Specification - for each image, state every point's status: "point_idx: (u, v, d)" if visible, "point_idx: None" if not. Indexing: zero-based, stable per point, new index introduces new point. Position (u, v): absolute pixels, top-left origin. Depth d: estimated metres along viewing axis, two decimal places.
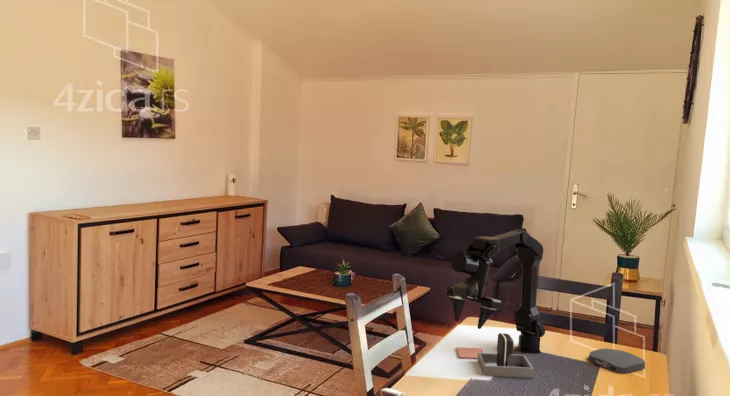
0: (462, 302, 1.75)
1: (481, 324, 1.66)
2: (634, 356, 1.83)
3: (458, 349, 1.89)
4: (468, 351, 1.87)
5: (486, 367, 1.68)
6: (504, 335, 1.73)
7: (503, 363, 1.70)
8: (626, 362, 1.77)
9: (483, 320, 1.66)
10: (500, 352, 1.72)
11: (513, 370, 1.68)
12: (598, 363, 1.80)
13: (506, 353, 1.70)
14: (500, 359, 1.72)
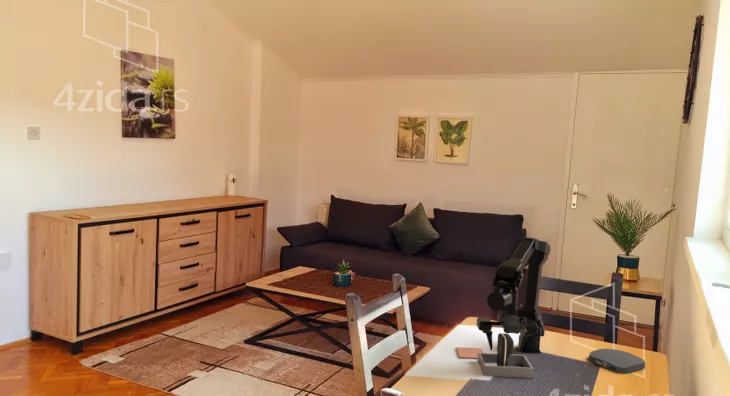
0: None
1: None
2: (634, 356, 1.83)
3: (458, 349, 1.89)
4: (468, 351, 1.87)
5: (486, 367, 1.68)
6: (504, 335, 1.73)
7: (503, 363, 1.70)
8: (626, 362, 1.77)
9: None
10: (500, 352, 1.72)
11: (513, 370, 1.68)
12: (598, 363, 1.80)
13: (506, 353, 1.70)
14: (500, 359, 1.72)
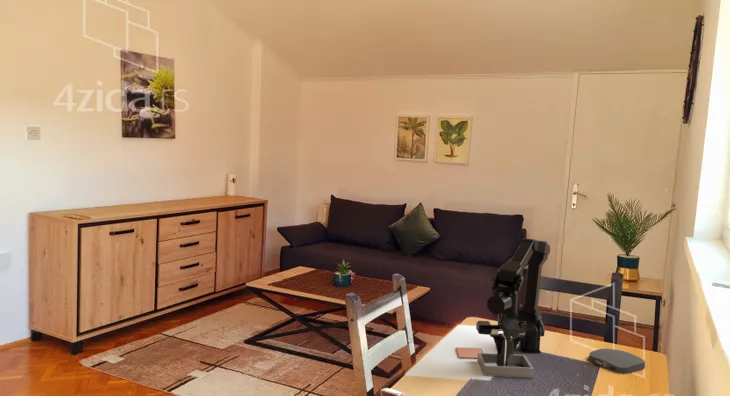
0: None
1: None
2: (634, 356, 1.83)
3: (458, 349, 1.89)
4: (468, 351, 1.87)
5: (486, 367, 1.68)
6: None
7: (503, 363, 1.70)
8: (626, 362, 1.77)
9: None
10: (500, 352, 1.72)
11: (513, 370, 1.68)
12: (598, 363, 1.80)
13: (506, 353, 1.70)
14: (500, 359, 1.72)
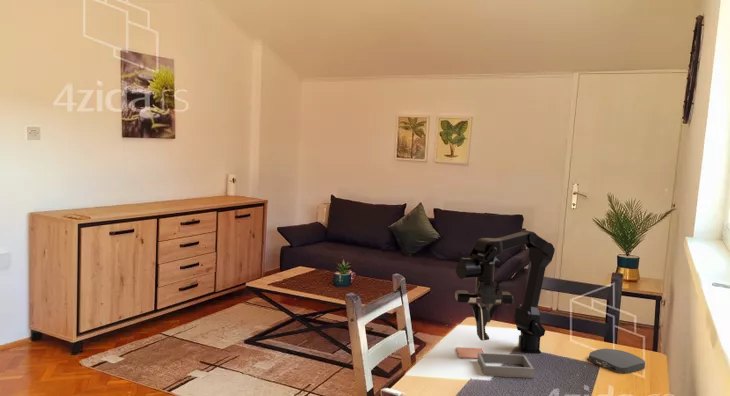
0: None
1: None
2: (634, 356, 1.83)
3: (458, 349, 1.89)
4: (468, 351, 1.87)
5: (486, 367, 1.68)
6: (480, 305, 1.81)
7: (481, 331, 1.78)
8: (626, 362, 1.77)
9: None
10: (478, 321, 1.80)
11: (513, 370, 1.68)
12: (598, 363, 1.80)
13: (483, 321, 1.78)
14: (478, 328, 1.80)
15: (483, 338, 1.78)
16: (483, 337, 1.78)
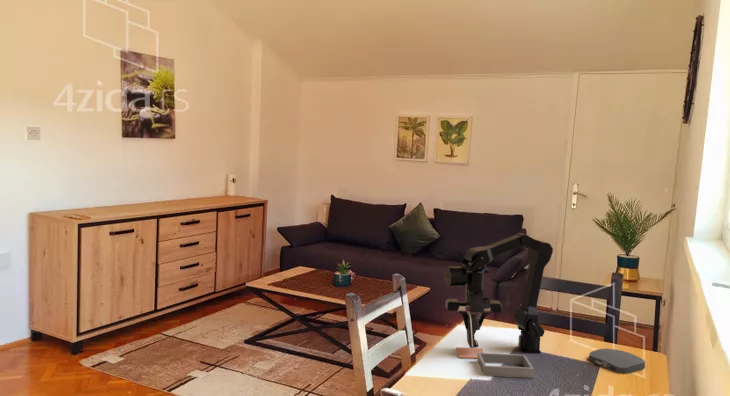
0: None
1: None
2: (634, 356, 1.83)
3: (458, 349, 1.89)
4: (468, 351, 1.87)
5: (486, 367, 1.68)
6: (470, 313, 1.85)
7: (470, 339, 1.83)
8: (626, 362, 1.77)
9: None
10: (467, 329, 1.85)
11: (513, 370, 1.68)
12: (598, 363, 1.80)
13: (472, 329, 1.82)
14: (468, 336, 1.84)
15: (472, 345, 1.83)
16: (472, 344, 1.83)
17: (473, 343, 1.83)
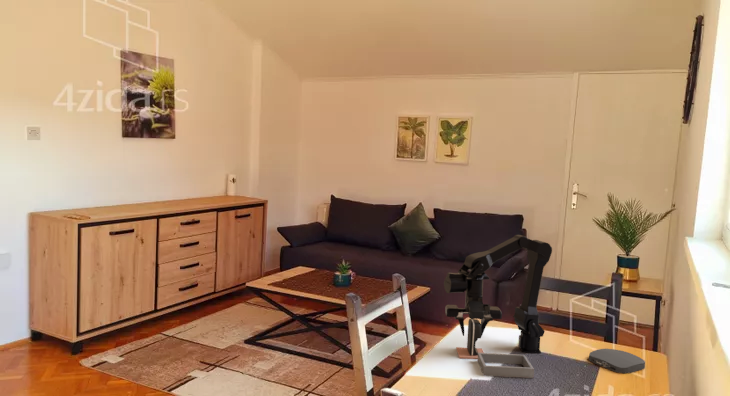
0: None
1: None
2: (634, 356, 1.83)
3: (458, 349, 1.89)
4: None
5: (486, 367, 1.68)
6: (473, 320, 1.85)
7: (471, 346, 1.83)
8: (626, 362, 1.77)
9: None
10: (469, 336, 1.85)
11: (513, 370, 1.68)
12: (598, 363, 1.80)
13: (474, 337, 1.82)
14: (469, 343, 1.84)
15: (472, 353, 1.83)
16: (472, 352, 1.83)
17: (473, 351, 1.83)
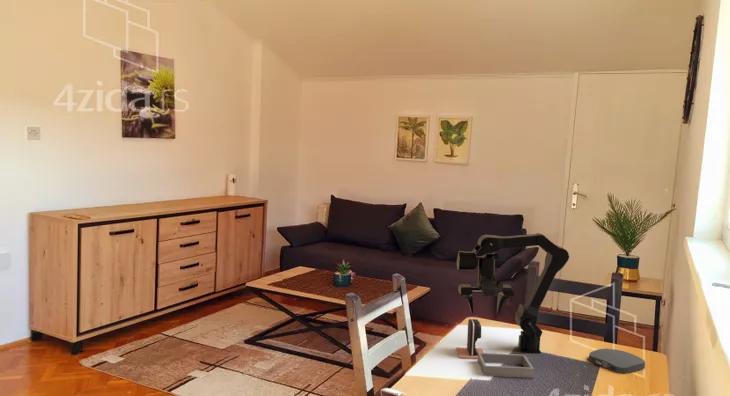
0: None
1: None
2: (634, 356, 1.83)
3: (458, 349, 1.89)
4: None
5: (486, 367, 1.68)
6: (473, 320, 1.85)
7: (471, 346, 1.83)
8: (626, 362, 1.77)
9: None
10: (469, 336, 1.85)
11: (513, 370, 1.68)
12: (598, 363, 1.80)
13: (474, 337, 1.82)
14: (469, 343, 1.84)
15: (472, 353, 1.83)
16: (472, 352, 1.83)
17: (473, 351, 1.83)
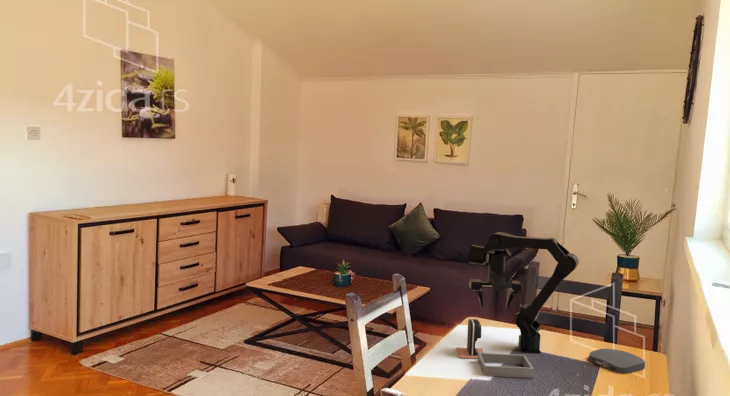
0: None
1: None
2: (634, 356, 1.83)
3: (458, 349, 1.89)
4: None
5: (486, 367, 1.68)
6: (473, 320, 1.85)
7: (471, 346, 1.83)
8: (626, 362, 1.77)
9: None
10: (469, 336, 1.85)
11: (513, 370, 1.68)
12: (598, 363, 1.80)
13: (474, 337, 1.82)
14: (469, 343, 1.84)
15: (472, 353, 1.83)
16: (472, 352, 1.83)
17: (473, 351, 1.83)
